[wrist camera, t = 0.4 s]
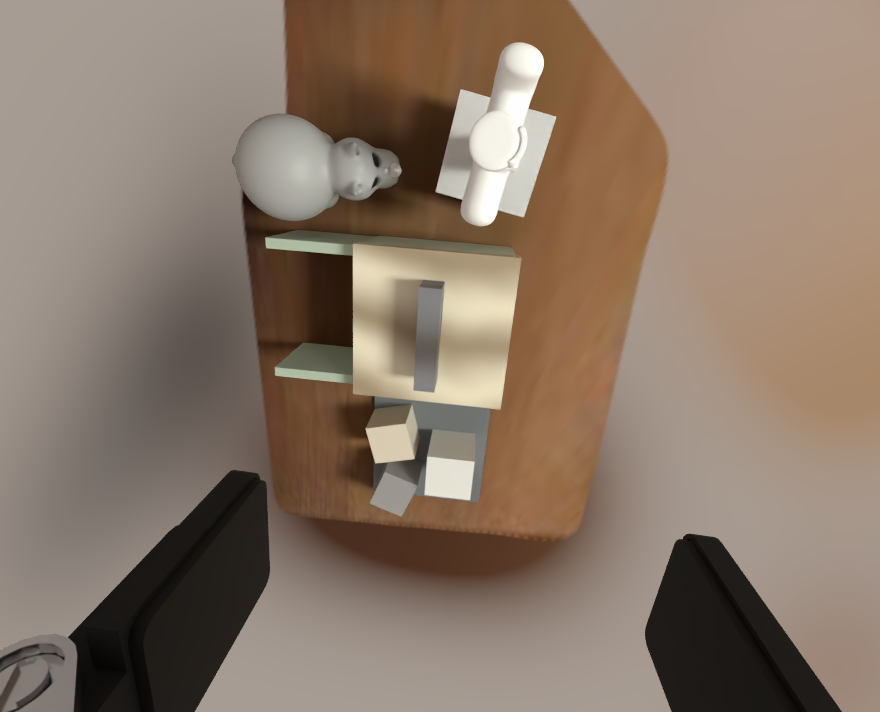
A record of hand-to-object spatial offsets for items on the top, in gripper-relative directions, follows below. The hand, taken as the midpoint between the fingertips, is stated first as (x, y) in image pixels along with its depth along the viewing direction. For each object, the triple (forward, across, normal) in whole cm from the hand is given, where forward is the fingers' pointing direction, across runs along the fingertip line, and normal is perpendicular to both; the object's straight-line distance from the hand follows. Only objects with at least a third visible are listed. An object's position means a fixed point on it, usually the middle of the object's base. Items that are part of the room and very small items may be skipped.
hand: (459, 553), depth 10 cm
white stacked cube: (+33, 0, +17) cm, 37 cm away
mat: (+33, +3, +18) cm, 38 cm away
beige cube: (+33, +6, +15) cm, 37 cm away
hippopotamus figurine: (+32, +13, -9) cm, 36 cm away
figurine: (+32, 0, -11) cm, 34 cm away
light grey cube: (+33, +6, +21) cm, 39 cm away
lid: (+26, +3, +2) cm, 26 cm away
